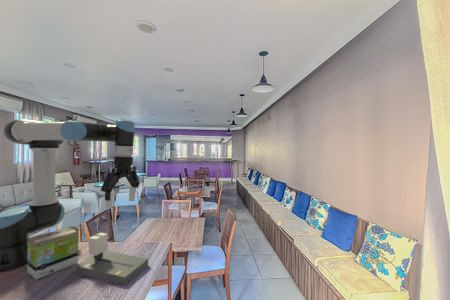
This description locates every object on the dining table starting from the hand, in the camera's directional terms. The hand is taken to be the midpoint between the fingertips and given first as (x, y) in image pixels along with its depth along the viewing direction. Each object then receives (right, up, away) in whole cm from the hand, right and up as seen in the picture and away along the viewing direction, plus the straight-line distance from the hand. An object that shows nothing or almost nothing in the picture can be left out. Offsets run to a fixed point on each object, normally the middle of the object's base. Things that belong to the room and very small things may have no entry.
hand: (120, 204), depth 94 cm
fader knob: (-10, -24, 0) cm, 26 cm away
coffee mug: (-34, -27, +17) cm, 47 cm away
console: (-2, -27, -2) cm, 27 cm away
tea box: (-28, -27, -1) cm, 39 cm away
